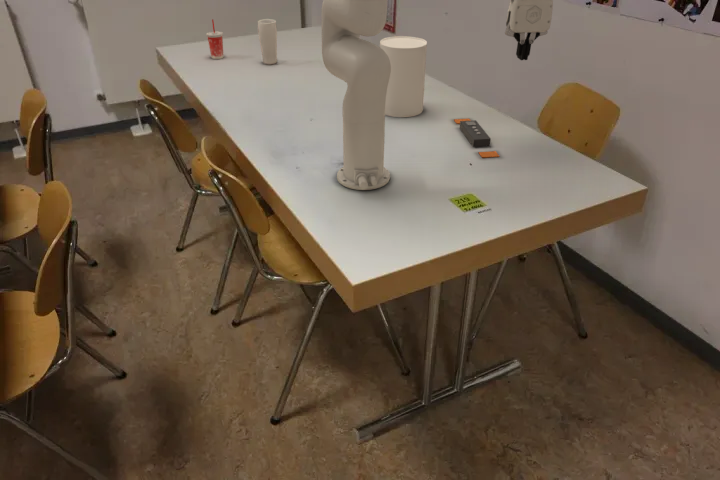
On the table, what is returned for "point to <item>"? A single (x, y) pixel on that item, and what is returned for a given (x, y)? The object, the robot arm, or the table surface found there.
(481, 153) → the tiles
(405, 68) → the canister
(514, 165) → the table surface
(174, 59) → the table surface
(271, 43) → the drinking glass
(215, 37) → the beverage cup
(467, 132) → the remote
